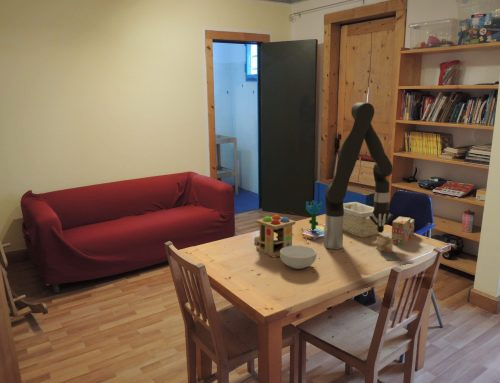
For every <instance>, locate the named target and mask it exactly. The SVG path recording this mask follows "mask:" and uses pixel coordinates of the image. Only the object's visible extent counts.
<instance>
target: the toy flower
mask: <svg viewBox="0 0 500 383" xmlns="http://www.w3.org/2000/svg"><path fill="white" fill-rule="evenodd" d="M305 210H306V211H307V212H308V214H311V219H310V220H308V223H309V224H311V225H310V226H311V227H310V228H311V229H312V230H314V229H317V227H316V226H319V222H318V221H317V215H318V214H319V213H320V212H321V211H322V210H323V203H322V202H319V203H318V202H317V201H315V200H314V199H313V200H312V201H310V202H309V201H306V202H305ZM311 229H310V230H311Z"/></svg>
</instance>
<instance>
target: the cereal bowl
mask: <svg viewBox="0 0 500 383" xmlns="http://www.w3.org/2000/svg"><path fill="white" fill-rule="evenodd" d="M279 257H280V260H281V261H282V263H283V264H285V265H286V266H289V267H290V268H292V269H298V270H299V269H300V270H302V269H304V268H307V267H309V266H311V265H313V264H314V263H315V261H316V259H317V250H315V249H314V248H313V247H309V246H306V245H305V246H304V245H292V246H288V247H284V248H282V249H281V250H280V256H279Z"/></svg>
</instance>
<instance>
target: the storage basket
mask: <svg viewBox="0 0 500 383" xmlns="http://www.w3.org/2000/svg"><path fill="white" fill-rule="evenodd" d="M343 208H344V222H343V232H347V233H350V234H352V235H354V236H357V237H358V238H364V237H368V236H374V235H378V234H380V233H379V232H378V230H377V227H378V225H375V224H374V222H373V221H372V220H371V219H370V217H369V215H371V214H373V211H374V206H370V205H367V204H363V203H361V202H357V201H352V202H346V203H345V202H343ZM374 220H375V221H376V222H377V218H376V217H375V216H374Z"/></svg>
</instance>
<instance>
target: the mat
mask: <svg viewBox="0 0 500 383" xmlns="http://www.w3.org/2000/svg"><path fill="white" fill-rule="evenodd" d="M375 250H377V252H378V253H379V254H380V255H381V256H382V257H383V258H384V259H385V260H386V261H387V262H391V261H393V262H394V261H395V262H397V261H399V262H400V261H401V262H402V261H403V260H402V259H401V258H400V257H399V255H397V253H395V252H394V250H392V252H380V251H379V250H378V249H377V248H375Z"/></svg>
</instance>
